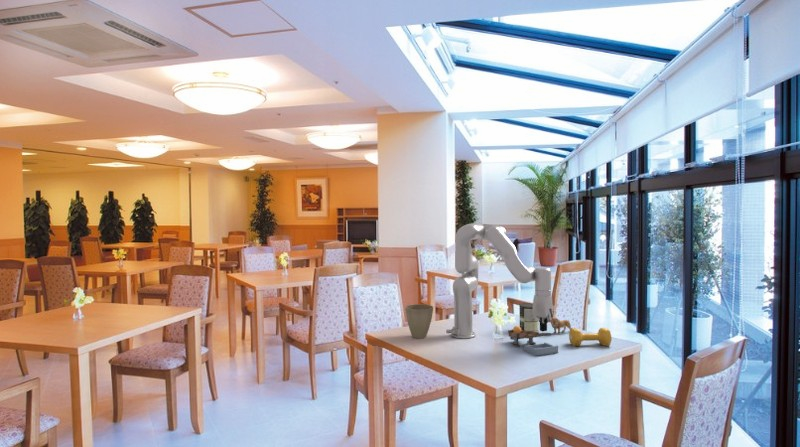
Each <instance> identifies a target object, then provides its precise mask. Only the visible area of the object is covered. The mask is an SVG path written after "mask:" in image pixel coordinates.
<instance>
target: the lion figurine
mask: <svg viewBox="0 0 800 447" xmlns="http://www.w3.org/2000/svg"><path fill="white" fill-rule="evenodd" d="M551 318H552V320H550V324H551V328H553V330H554V331H553V334H556V333H557V335H560V334H561V332H562V333H564V332H565V331H566V330H567V328H568V329H569V332H570V329H571V328H572V327H571V323H570V321H569V320H568V319H564V320H559V319H558V318H557V317H551ZM562 328H563V329H562ZM561 329H562V330H561Z"/></svg>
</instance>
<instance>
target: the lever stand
mask: <svg viewBox="0 0 800 447" xmlns="http://www.w3.org/2000/svg"><path fill="white" fill-rule="evenodd" d="M513 341H514V342H513V343H511V344H510V345H511V346H513V347H514V348H520V344H519V339H518V335H517V334H514V340H513ZM527 344H529V345H537V343H536V342H535V341H534V338H528V340H527Z"/></svg>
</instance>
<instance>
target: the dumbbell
mask: <svg viewBox="0 0 800 447" xmlns="http://www.w3.org/2000/svg"><path fill="white" fill-rule="evenodd" d="M569 331H570V332H569V334H568V339H569V342H570V344H571V346H573V347H580V346H581V344H582V342H584V341H586V342H587V341H588V342H589V341H598V343H599V344H600V345H602V346H604V347H610V346H611V343H612V334H611V330H610V329H609V328H607V327H600V328H599V329H598V331H597V333H592V332H589V333H582V331H581V330H580V329H579V328H576V327H571V329H569Z"/></svg>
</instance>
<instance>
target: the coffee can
mask: <svg viewBox="0 0 800 447" xmlns="http://www.w3.org/2000/svg"><path fill="white" fill-rule="evenodd" d="M519 327H520V328H521V331H531V332H539V331H540V322H539V320H538V318H537V317H536V316H535V315H534V314H533V303H530V302H529V303H527V302H526V303H525V302H524V303H520V304H519Z"/></svg>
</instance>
